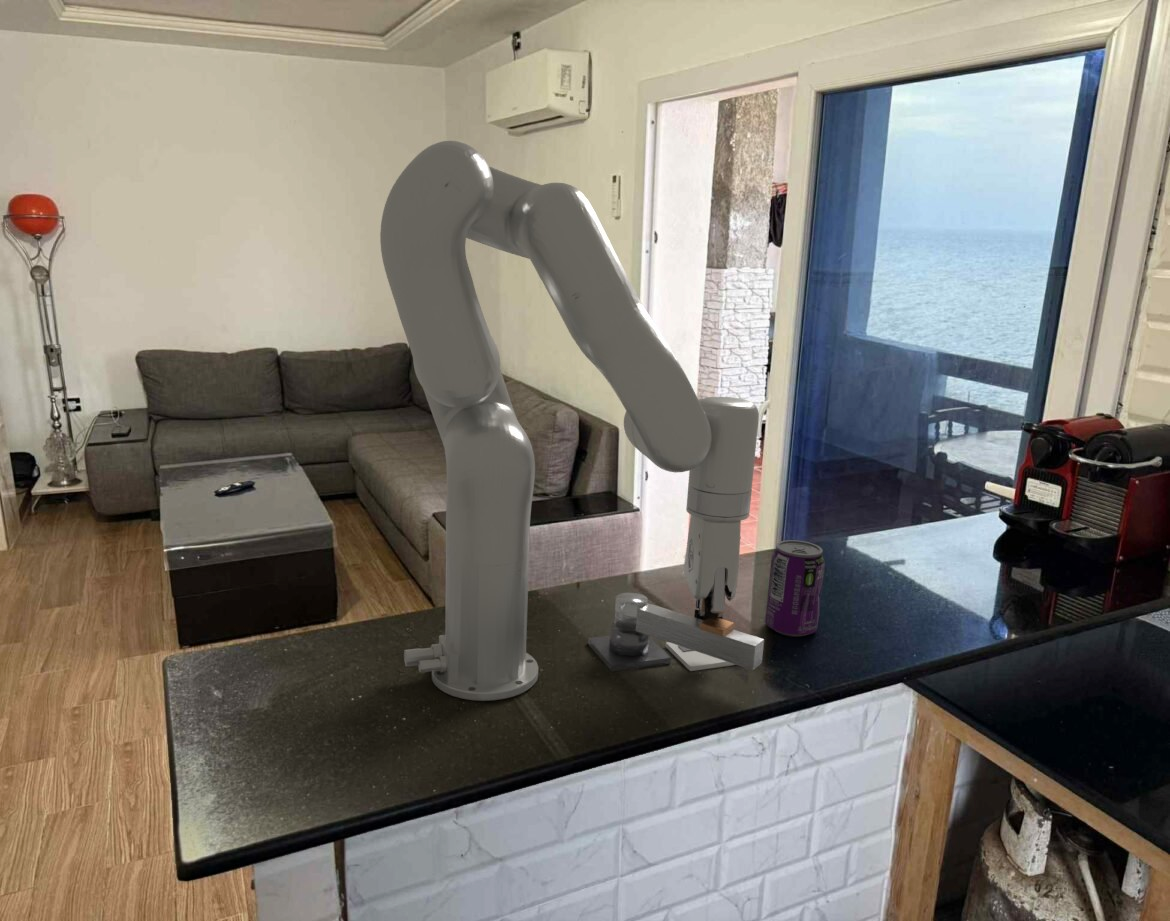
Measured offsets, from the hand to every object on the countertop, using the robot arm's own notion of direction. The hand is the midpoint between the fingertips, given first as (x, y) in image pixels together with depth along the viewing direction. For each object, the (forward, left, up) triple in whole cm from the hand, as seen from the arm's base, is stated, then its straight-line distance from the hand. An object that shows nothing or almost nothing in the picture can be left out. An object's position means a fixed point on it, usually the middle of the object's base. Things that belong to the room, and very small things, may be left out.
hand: (706, 642), depth 108 cm
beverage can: (+17, +6, -3) cm, 18 cm away
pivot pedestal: (-8, +5, -3) cm, 10 cm away
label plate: (+2, +2, -3) cm, 4 cm away
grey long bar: (-4, -1, +1) cm, 4 cm away
